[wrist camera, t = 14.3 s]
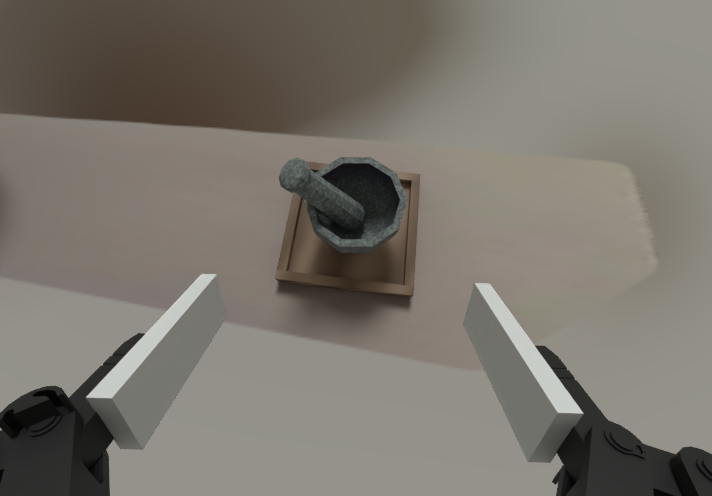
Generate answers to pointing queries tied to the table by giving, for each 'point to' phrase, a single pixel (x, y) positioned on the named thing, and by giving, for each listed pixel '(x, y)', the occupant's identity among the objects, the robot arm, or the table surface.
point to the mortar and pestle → (349, 201)
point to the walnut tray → (351, 270)
